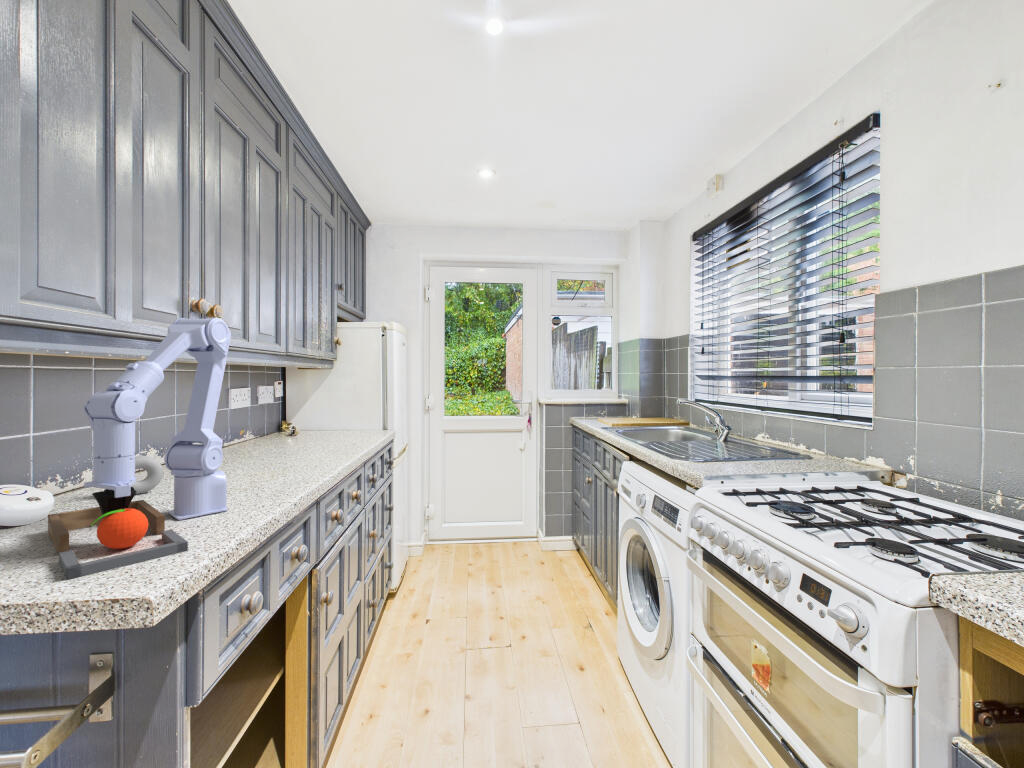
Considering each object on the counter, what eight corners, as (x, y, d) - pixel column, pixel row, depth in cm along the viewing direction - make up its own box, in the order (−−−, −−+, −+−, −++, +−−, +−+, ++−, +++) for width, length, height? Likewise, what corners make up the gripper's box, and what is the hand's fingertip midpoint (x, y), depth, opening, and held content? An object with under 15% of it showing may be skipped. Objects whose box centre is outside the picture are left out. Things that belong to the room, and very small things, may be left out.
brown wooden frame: (142, 515, 97) (142, 499, 97) (164, 533, 86) (164, 515, 86) (48, 532, 85) (48, 514, 85) (59, 555, 75) (59, 535, 75)
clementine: (96, 560, 73) (96, 518, 73) (82, 551, 76) (82, 511, 76) (154, 545, 80) (155, 506, 79) (139, 538, 83) (139, 500, 83)
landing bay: (171, 537, 84) (171, 529, 84) (187, 550, 78) (187, 541, 78) (59, 561, 72) (59, 552, 72) (67, 579, 66) (67, 569, 66)
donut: (114, 498, 110) (114, 459, 110) (112, 496, 112) (112, 457, 112) (164, 491, 117) (164, 454, 117) (161, 489, 119) (162, 452, 119)
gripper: (78, 453, 82) (78, 526, 82) (91, 463, 73) (91, 545, 73) (127, 449, 88) (127, 517, 88) (145, 458, 79) (145, 533, 79)
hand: (114, 529), depth 81 cm, fingers closed
